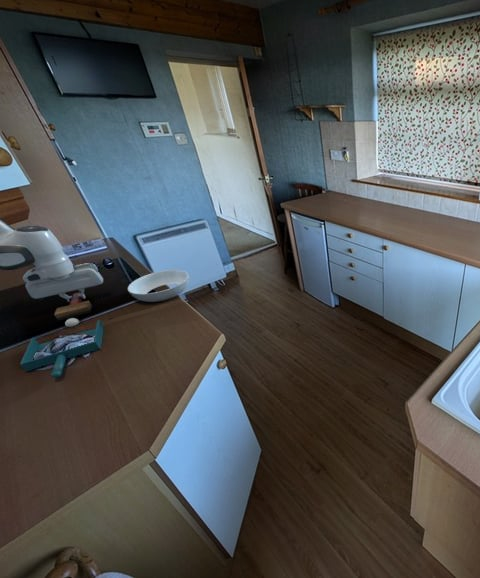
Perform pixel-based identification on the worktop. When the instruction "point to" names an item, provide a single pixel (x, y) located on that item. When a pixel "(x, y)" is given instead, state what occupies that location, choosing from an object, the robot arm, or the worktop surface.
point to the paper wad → (71, 322)
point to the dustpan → (61, 356)
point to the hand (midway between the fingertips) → (77, 299)
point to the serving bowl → (157, 279)
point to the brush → (73, 308)
